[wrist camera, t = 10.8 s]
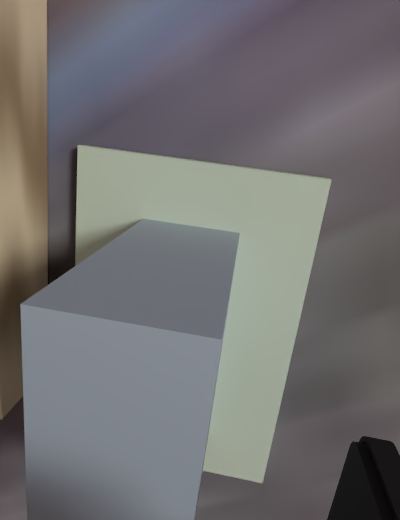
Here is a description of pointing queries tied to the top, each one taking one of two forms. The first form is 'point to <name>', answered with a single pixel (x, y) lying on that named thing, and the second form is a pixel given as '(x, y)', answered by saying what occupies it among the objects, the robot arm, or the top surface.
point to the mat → (244, 278)
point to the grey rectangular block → (125, 375)
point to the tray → (21, 179)
